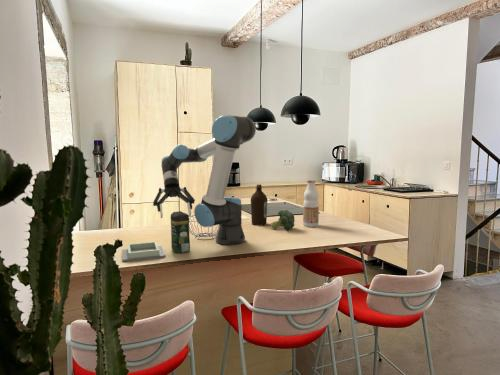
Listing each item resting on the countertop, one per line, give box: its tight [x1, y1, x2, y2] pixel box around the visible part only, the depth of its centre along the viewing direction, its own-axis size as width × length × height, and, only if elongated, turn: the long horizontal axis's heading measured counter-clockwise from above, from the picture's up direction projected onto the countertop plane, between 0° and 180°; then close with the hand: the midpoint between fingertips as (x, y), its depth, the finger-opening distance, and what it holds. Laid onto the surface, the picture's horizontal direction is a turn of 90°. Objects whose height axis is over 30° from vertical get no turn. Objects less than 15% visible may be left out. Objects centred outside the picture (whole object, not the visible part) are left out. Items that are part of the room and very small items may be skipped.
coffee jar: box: [170, 210, 191, 254], centre depth 167 cm, size 10×8×19 cm
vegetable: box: [270, 209, 295, 231], centre depth 210 cm, size 12×13×15 cm
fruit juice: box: [302, 179, 320, 228], centre depth 219 cm, size 9×9×28 cm
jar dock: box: [121, 241, 166, 263], centre depth 162 cm, size 18×16×4 cm
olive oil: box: [250, 184, 268, 226], centre depth 224 cm, size 11×11×25 cm
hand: (176, 215), depth 172 cm, fingers open, 13 cm apart
